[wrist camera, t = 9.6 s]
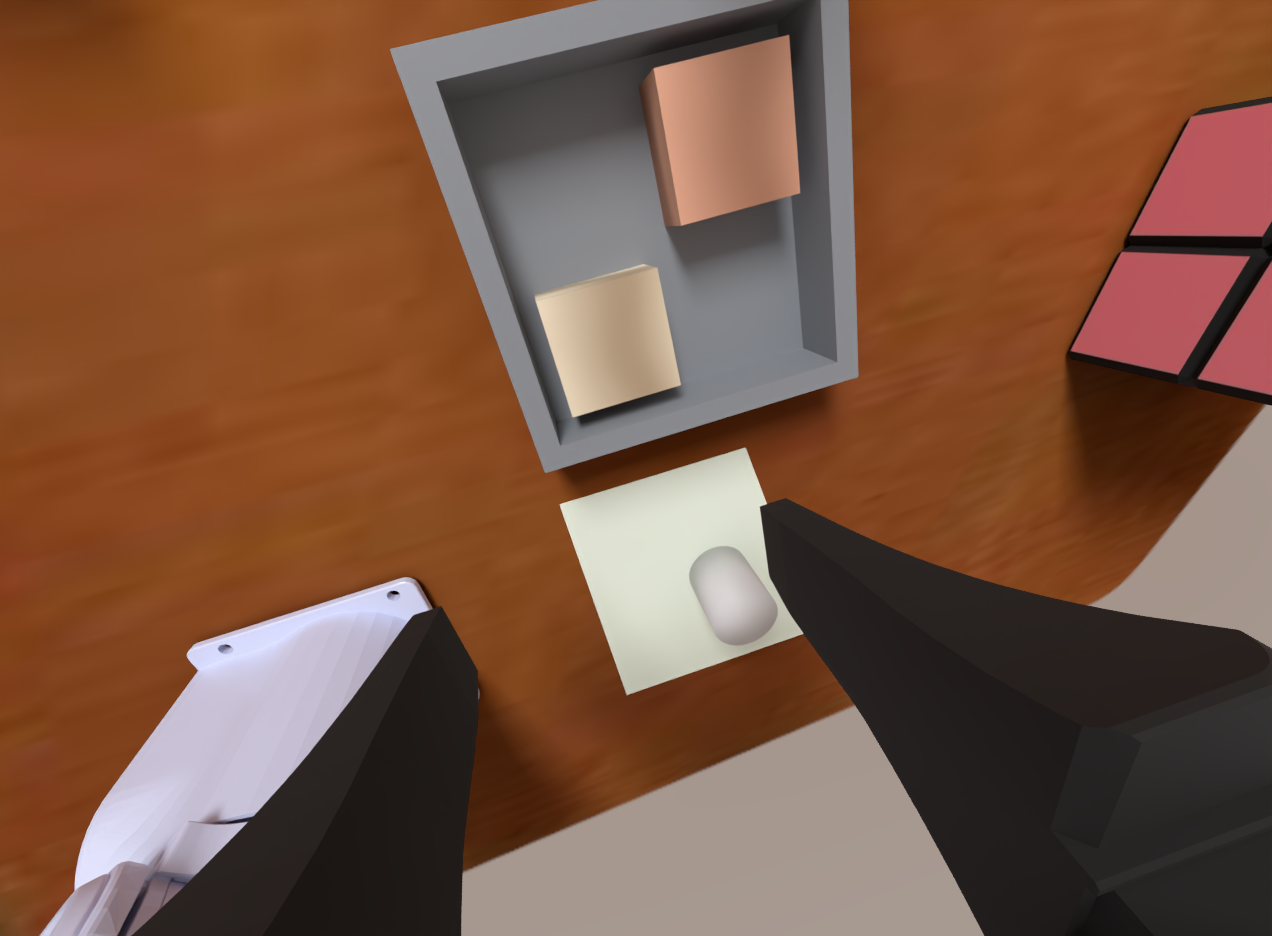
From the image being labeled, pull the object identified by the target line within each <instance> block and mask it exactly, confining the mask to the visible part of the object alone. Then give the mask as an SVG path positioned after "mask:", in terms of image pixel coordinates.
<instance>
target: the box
mask: <svg viewBox="0 0 1272 936" xmlns="http://www.w3.org/2000/svg"><path fill="white" fill-rule="evenodd" d="M786 35H789V40H790V54H791V68H792V83H793V97H794V111H795V125H796V139H797V153H798V167H799V182H800V193H799V194H795V195H792V196H788V197H784V198H781V199H777V200H774V201H770V202H766V203H763V204H759V205H755V206H752V207H748V208H744V209H741V210H737V211H733V212H730V213H726V214H722V215H719V216H715V217H711V218H708V219H704V220H700V221H697V222H693V223H690V224H686V225H682V226H665V225H664V219H663V214H662V209H661V203H660V198H659V193H658V187H657V182H656V177H655V172H654V166H653V161H652V156H651V150H650V145H649V140H648V134H647V129H646V124H645V118H644V113H643V108H642V102H641V97H640V92H639V86H640V84H641V83H642V82H643V81H644V79H645V78H646V77H647V76H648V74H649V73H650V72H651V71H652V70H653V68H656V67H660V66H664V65H668V64H673V63H677V62H681V61H685V60H689V59H693V58H697V57H701V56H705V55H709V54H713V53H717V52H721V51H725V50H729V49H733V48H737V47H741V46H745V45H749V44H754V43H758V42H762V41H766V40H770V39H774V38H778V37H782V36H786ZM390 51H391V54H392V57H393V60H394V62H395V65H396V68H397V70H398V73H399V76H400V79H401V81H402V84H403V87H404V90H405V92H406V95H407V98H408V100H409V103H410V106H411V109H412V111H413V114H414V117H415V119H416V122H417V125H418V128H419V130H420V133H421V136H422V139H423V141H424V144H425V147H426V149H427V152H428V155H429V158H430V160H431V163H432V166H433V169H434V171H435V174H436V177H437V179H438V182H439V185H440V188H441V190H442V193H443V196H444V199H445V201H446V204H447V207H448V209H449V212H450V215H451V218H452V220H453V223H454V226H455V229H456V231H457V234H458V237H459V239H460V242H461V245H462V248H463V250H464V253H465V256H466V258H467V261H468V264H469V267H470V269H471V272H472V275H473V278H474V280H475V283H476V286H477V288H478V291H479V294H480V297H481V299H482V302H483V305H484V308H485V310H486V313H487V316H488V318H489V321H490V324H491V327H492V329H493V332H494V335H495V338H496V340H497V343H498V346H499V348H500V351H501V354H502V357H503V359H504V362H505V365H506V368H507V370H508V373H509V376H510V378H511V381H512V384H513V387H514V389H515V392H516V395H517V397H518V400H519V403H520V406H521V408H522V411H523V414H524V417H525V419H526V422H527V425H528V427H529V430H530V433H531V436H532V438H533V441H534V444H535V447H536V449H537V452H538V455H539V457H540V460H541V463H542V466H543V468H544V471H545V473H547V472H551V471H554V470H557V469H560V468H564V467H567V466H570V465H573V464H577V463H580V462H583V461H586V460H590V459H593V458H596V457H599V456H603V455H606V454H609V453H612V452H616V451H619V450H622V449H626V448H629V447H632V446H635V445H639V444H642V443H645V442H648V441H652V440H655V439H658V438H661V437H665V436H668V435H671V434H674V433H678V432H681V431H684V430H687V429H691V428H694V427H697V426H700V425H704V424H707V423H710V422H713V421H717V420H720V419H723V418H726V417H730V416H733V415H736V414H739V413H743V412H746V411H749V410H752V409H756V408H759V407H762V406H765V405H769V404H772V403H775V402H778V401H782V400H785V399H788V398H791V397H795V396H798V395H801V394H804V393H808V392H811V391H814V390H817V389H821V388H824V387H827V386H830V385H834V384H837V383H840V382H843V381H847V380H850V379H853V378H856V377H858V347H857V310H856V273H855V235H854V198H853V161H852V123H851V86H850V49H849V12H848V0H598V1H594V2H589V3H585V4H581V5H577V6H572V7H568V8H564V9H559V10H555V11H551V12H547V13H542V14H538V15H534V16H530V17H525V18H521V19H517V20H512V21H508V22H504V23H500V24H495V25H491V26H487V27H482V28H478V29H474V30H470V31H465V32H461V33H457V34H453V35H448V36H444V37H440V38H435V39H431V40H427V41H423V42H418V43H414V44H410V45H405V46H401V47H397V48H393V49H390ZM642 264H645V265H649V266H652V267H656V268H657V269H658V274H659V278H660V283H661V288H662V293H663V298H664V303H665V308H666V313H667V318H668V323H669V328H670V333H671V338H672V343H673V348H674V353H675V358H676V363H677V368H678V373H679V378H680V383H681V385H680V386H676V387H673V388H670V389H666V390H663V391H660V392H656V393H653V394H650V395H646V396H643V397H640V398H636V399H633V400H630V401H626V402H623V403H620V404H616V405H613V406H610V407H606V408H603V409H600V410H596V411H593V412H590V413H586V414H583V415H580V416H576V417H572V414H571V411H570V407H569V404H568V401H567V398H566V395H565V392H564V389H563V386H562V382H561V379H560V376H559V373H558V370H557V367H556V364H555V360H554V357H553V354H552V351H551V348H550V345H549V342H548V338H547V335H546V332H545V329H544V326H543V323H542V320H541V316H540V313H539V310H538V307H537V304H536V300H535V294H538V293H542V292H545V291H549V290H553V289H556V288H560V287H563V286H567V285H571V284H574V283H578V282H581V281H585V280H589V279H592V278H596V277H599V276H603V275H606V274H610V273H614V272H617V271H621V270H624V269H628V268H632V267H635V266H639V265H642Z"/></svg>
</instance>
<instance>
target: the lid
mask: <svg viewBox="0 0 1272 936" xmlns="http://www.w3.org/2000/svg"><path fill="white" fill-rule="evenodd" d="M766 504H767V503H766V501H765V498H764V495H763V493H762V490H761V487H760V485H759V482H758V479H757V477H756V474H755V471H754V469H753V466H752V463H751V461H750V458H749V455H748V453H747V450H746V448H742V449H739V450H736V451H732V452H729V453H726V454H723V455H719V456H716V457H713V458H710V459H706V460H703V461H700V462H697V463H693V464H690V465H687V466H683V467H680V468H677V469H674V470H670V471H667V472H664V473H661V474H657V475H654V476H651V477H647V478H644V479H641V480H638V481H634V482H631V483H628V484H625V485H621V486H618V487H615V488H611V489H608V490H605V491H602V492H598V493H595V494H592V495H589V496H585V497H582V498H579V499H576V500H572V501H569V502H566V503H562V504H560V507H561V510H562V513H563V516H564V519H565V521H566V524H567V527H568V530H569V533H570V536H571V538H572V541H573V544H574V547H575V550H576V553H577V555H578V558H579V561H580V564H581V567H582V570H583V572H584V575H585V578H586V581H587V584H588V586H589V589H590V592H591V595H592V598H593V601H594V603H595V606H596V609H597V612H598V615H599V618H600V620H601V623H602V626H603V629H604V632H605V635H606V637H607V640H608V643H609V646H610V649H611V652H612V654H613V657H614V660H615V663H616V666H617V669H618V671H619V674H620V677H621V680H622V683H623V686H624V688H625V691H626V694H627V695H628V694H631V693H634V692H637V691H640V690H643V689H646V688H649V687H652V686H654V685H657V684H660V683H663V682H666V681H669V680H672V679H675V678H677V677H680V676H683V675H686V674H689V673H692V672H695V671H698V670H701V669H703V668H706V667H709V666H712V665H715V664H718V663H721V662H724V661H726V660H729V659H732V658H735V657H738V656H741V655H744V654H747V653H750V652H752V651H755V650H758V649H761V648H764V647H767V646H770V645H773V644H775V643H778V642H781V641H784V640H787V639H790V638H793V637H796V636H799V635H801V634H804V633H803V632H802V631H801V629H800V628H799V626H798V625H797V624H796V622H795V621H794V619H793V618H792V616H791V615H790V613H789V612H788V610H787V608H786V606H785V605H784V603H783V601H782V599H781V597H780V596H779V594H778V592H777V590H776V588H775V586H774V584H773V583H772V581H771V579H770V577H769V571H768V564H767V557H766V549H765V542H764V535H763V528H762V520H761V513H760V506H763V505H766Z"/></svg>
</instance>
